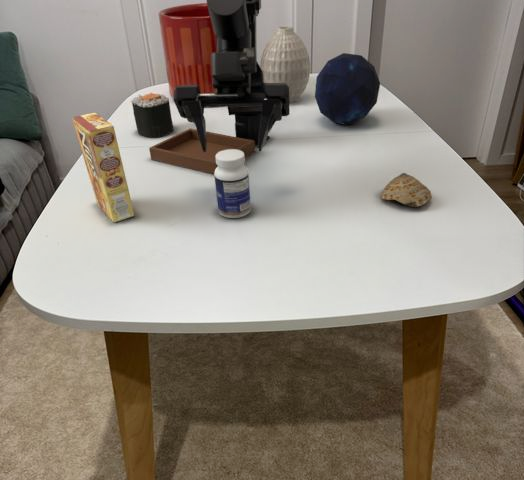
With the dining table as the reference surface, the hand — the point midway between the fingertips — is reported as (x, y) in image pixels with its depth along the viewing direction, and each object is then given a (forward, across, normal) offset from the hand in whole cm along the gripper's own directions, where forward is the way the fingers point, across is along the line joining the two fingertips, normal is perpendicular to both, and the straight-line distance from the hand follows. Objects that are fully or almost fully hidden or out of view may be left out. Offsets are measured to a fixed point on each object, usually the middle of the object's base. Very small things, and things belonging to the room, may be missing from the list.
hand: (231, 150), depth 83 cm
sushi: (-21, -23, +35) cm, 47 cm away
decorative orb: (-24, +22, +38) cm, 50 cm away
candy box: (+8, -21, +6) cm, 24 cm away
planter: (-42, -14, +55) cm, 71 cm away
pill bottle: (+9, 0, +5) cm, 10 cm away
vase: (-38, +7, +51) cm, 64 cm away
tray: (-10, -9, +23) cm, 27 cm away
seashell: (+6, +30, +8) cm, 31 cm away
